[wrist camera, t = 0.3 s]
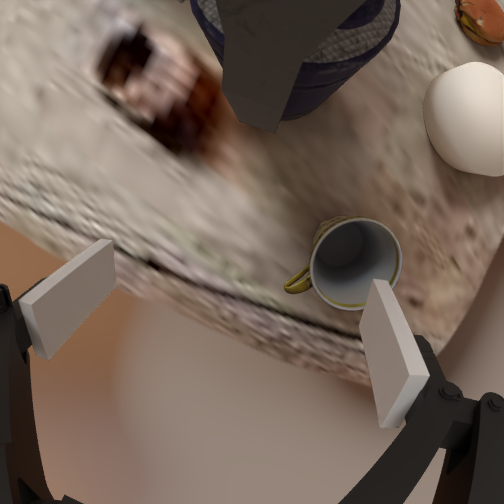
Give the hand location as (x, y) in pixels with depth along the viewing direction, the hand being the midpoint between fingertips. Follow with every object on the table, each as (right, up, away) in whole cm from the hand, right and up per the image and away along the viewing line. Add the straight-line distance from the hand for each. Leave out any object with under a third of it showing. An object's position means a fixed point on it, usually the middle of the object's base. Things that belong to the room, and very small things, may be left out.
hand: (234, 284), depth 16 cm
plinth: (+31, +20, +20) cm, 42 cm away
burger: (+35, +37, +15) cm, 53 cm away
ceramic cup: (+11, +2, +26) cm, 28 cm away
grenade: (+4, +22, +20) cm, 30 cm away
